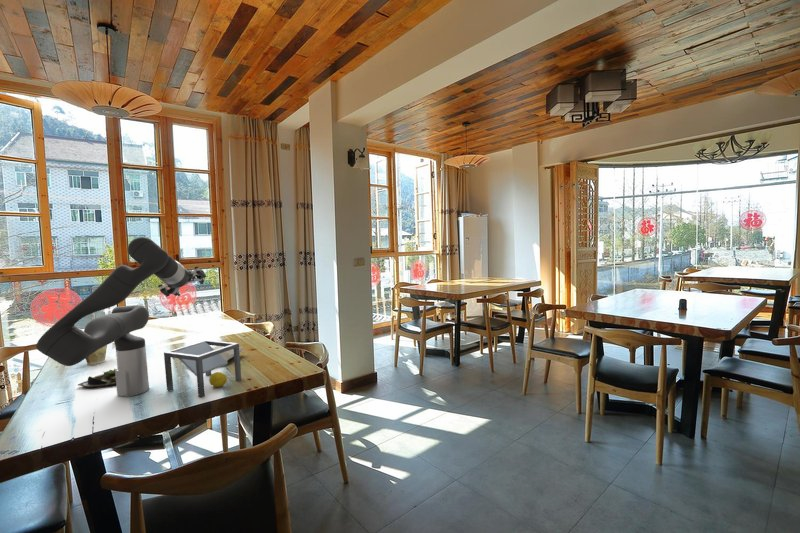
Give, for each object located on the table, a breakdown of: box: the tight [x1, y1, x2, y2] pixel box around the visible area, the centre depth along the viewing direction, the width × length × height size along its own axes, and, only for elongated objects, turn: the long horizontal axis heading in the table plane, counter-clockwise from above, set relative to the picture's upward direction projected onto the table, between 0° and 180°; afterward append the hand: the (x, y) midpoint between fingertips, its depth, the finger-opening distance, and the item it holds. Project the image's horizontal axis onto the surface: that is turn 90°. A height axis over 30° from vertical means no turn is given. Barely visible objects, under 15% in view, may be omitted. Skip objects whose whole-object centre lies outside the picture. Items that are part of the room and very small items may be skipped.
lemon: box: [208, 371, 228, 388], centre depth 148 cm, size 6×6×8 cm
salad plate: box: [77, 368, 118, 390], centre depth 161 cm, size 19×18×5 cm
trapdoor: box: [174, 342, 228, 377], centre depth 150 cm, size 14×14×1 cm
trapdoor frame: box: [163, 339, 242, 398], centre depth 150 cm, size 19×19×15 cm
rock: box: [212, 345, 244, 362], centre depth 179 cm, size 19×7×25 cm
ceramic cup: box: [84, 345, 108, 366], centre depth 187 cm, size 13×10×10 cm
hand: (190, 287), depth 139 cm, fingers open, 8 cm apart
